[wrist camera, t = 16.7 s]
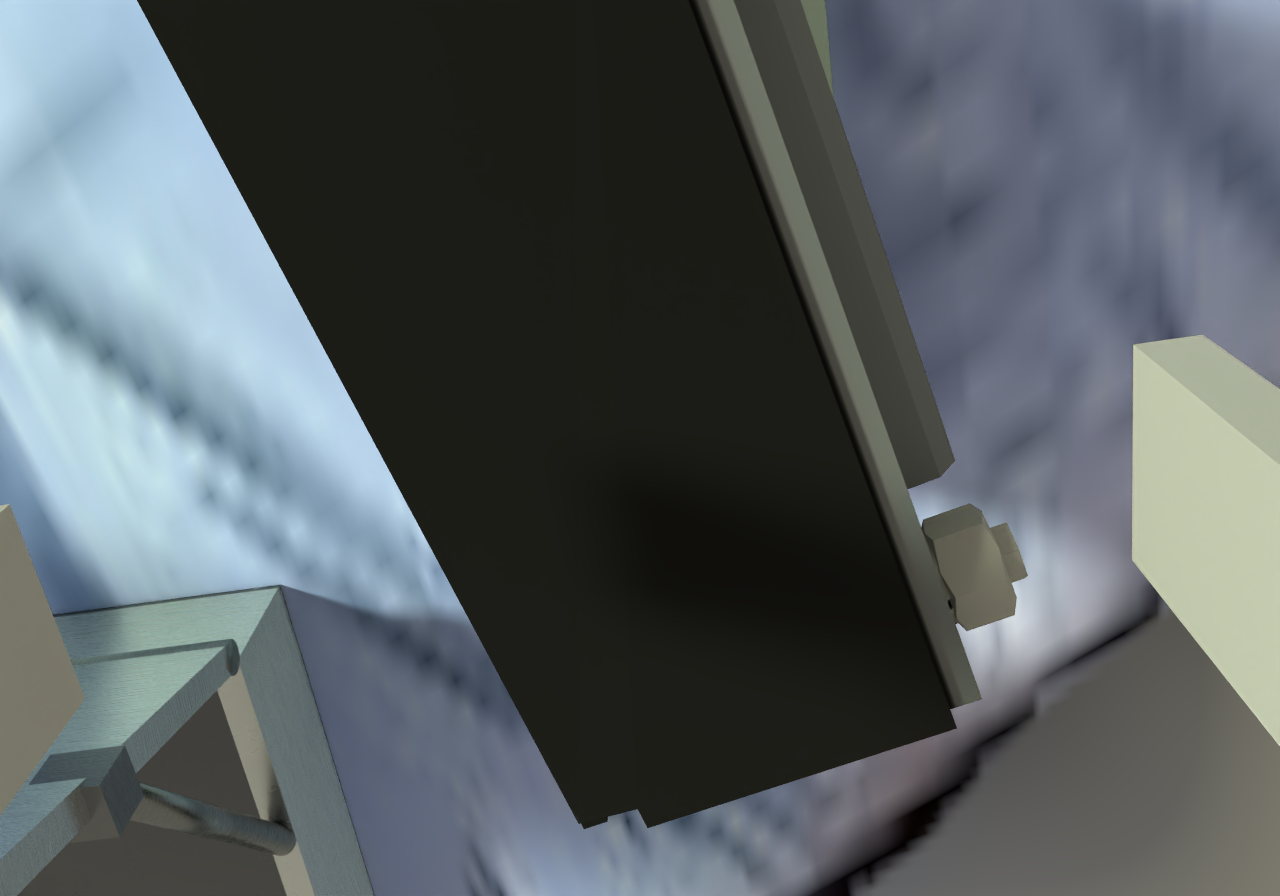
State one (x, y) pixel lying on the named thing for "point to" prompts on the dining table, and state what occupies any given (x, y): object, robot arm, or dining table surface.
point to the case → (185, 763)
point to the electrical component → (620, 367)
